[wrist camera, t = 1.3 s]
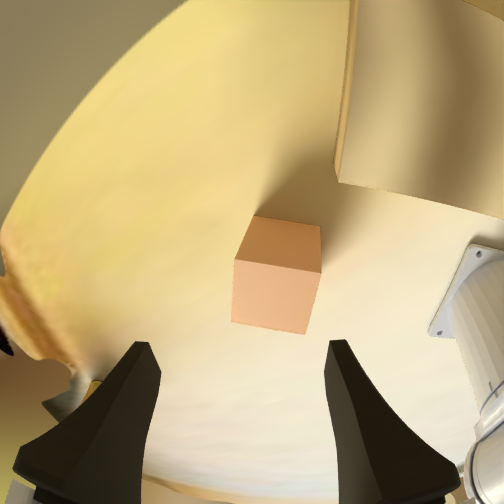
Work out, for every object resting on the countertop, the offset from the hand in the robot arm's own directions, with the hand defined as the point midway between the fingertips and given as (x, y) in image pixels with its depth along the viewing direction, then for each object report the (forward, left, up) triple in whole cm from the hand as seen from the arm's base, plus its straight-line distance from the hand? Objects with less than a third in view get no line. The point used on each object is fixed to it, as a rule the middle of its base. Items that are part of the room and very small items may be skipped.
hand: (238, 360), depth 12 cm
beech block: (-8, -11, -9) cm, 16 cm away
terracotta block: (-1, 0, -9) cm, 9 cm away
